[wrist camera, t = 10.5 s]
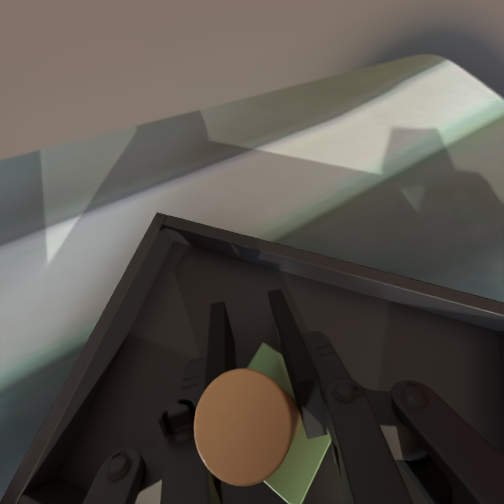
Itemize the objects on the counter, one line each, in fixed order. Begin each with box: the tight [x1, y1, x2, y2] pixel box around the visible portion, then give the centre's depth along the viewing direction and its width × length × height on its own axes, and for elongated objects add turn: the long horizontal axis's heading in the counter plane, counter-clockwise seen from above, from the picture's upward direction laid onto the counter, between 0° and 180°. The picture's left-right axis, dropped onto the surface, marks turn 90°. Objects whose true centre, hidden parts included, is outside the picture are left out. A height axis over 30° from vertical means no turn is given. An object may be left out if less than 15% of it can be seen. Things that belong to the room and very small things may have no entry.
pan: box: [0, 212, 504, 504], centre depth 15 cm, size 24×17×3 cm
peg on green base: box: [194, 342, 331, 504], centre depth 11 cm, size 5×5×11 cm
